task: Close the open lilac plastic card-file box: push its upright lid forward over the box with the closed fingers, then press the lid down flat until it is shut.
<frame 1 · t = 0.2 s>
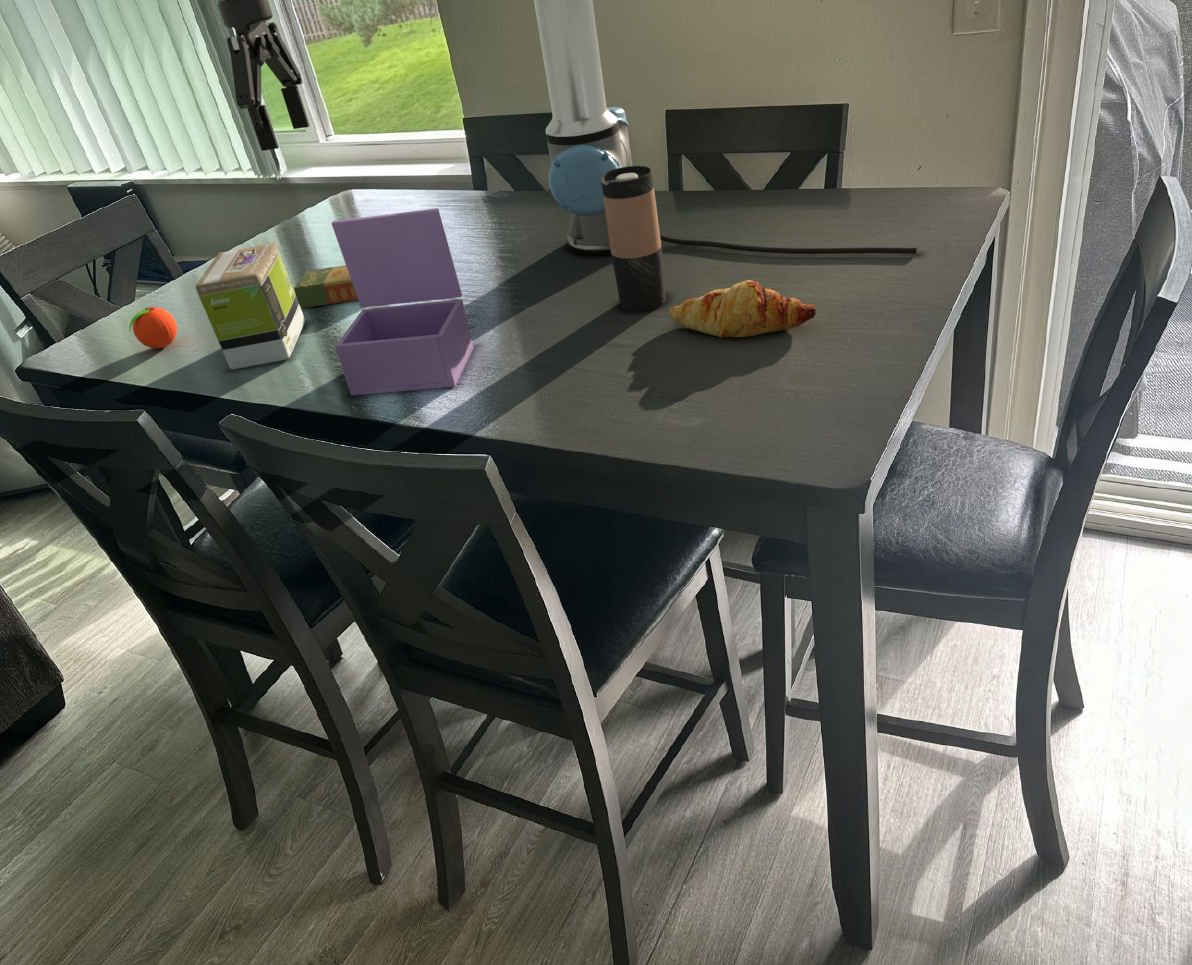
hand: (286, 138, 154), 28 cm above the table, tool pointing down, fingers open, 13 cm apart
file box: (414, 370, 137), on the table
clementine: (161, 348, 161), on the table
carton: (348, 294, 169), on the table
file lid: (398, 259, 134), point 15 cm above the table, hinge at 85.0°
tea box: (269, 347, 154), on the table
croissant: (741, 326, 134), on the table
travel mug: (643, 303, 146), on the table
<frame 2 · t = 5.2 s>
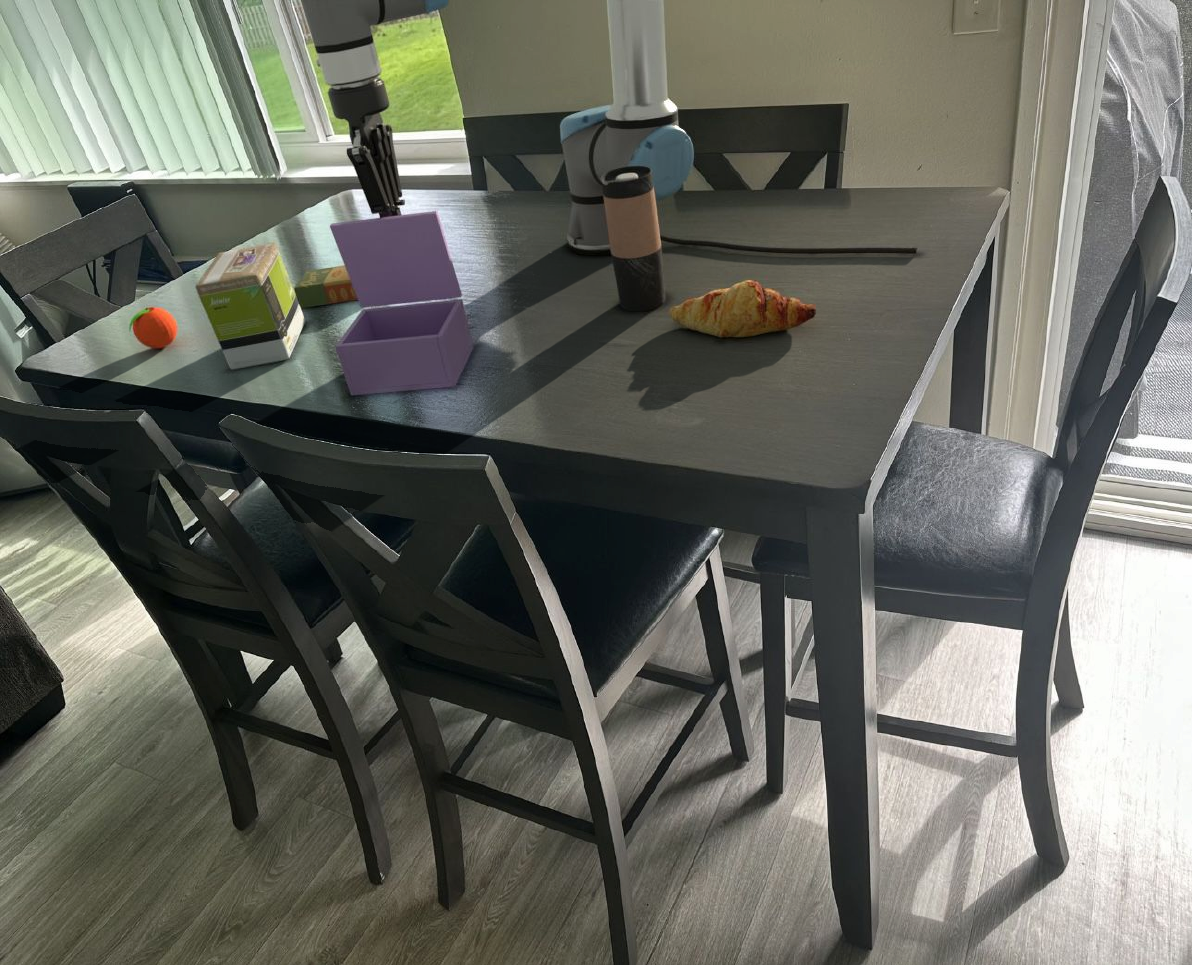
hand: (400, 253, 136), 15 cm above the table, tool pointing down, fingers closed
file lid: (397, 261, 134), point 15 cm above the table, hinge at 81.3°, touching gripper
everything else where it was.
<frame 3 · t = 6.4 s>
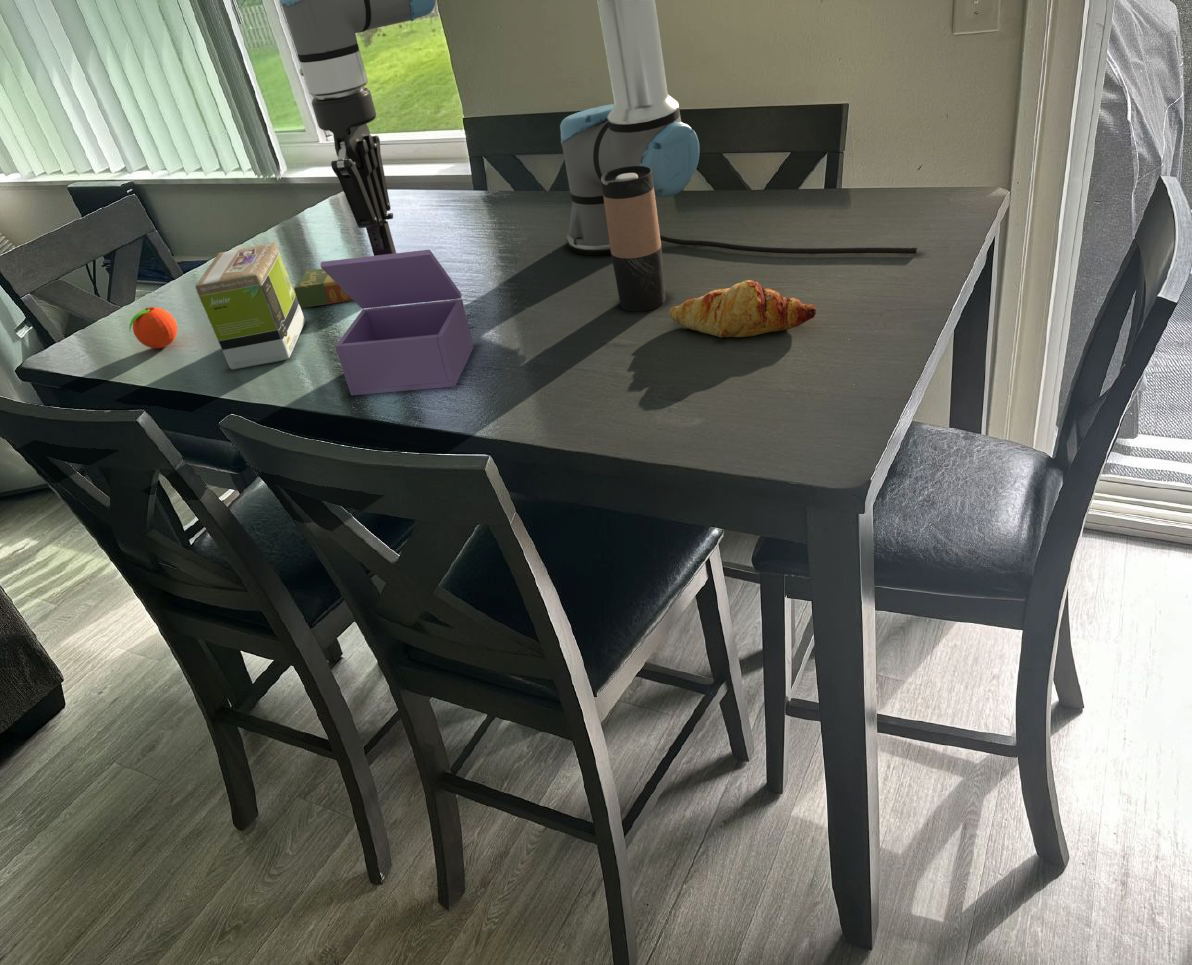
hand: (389, 268, 131), 15 cm above the table, tool pointing down, fingers closed
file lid: (393, 280, 132), point 13 cm above the table, hinge at 48.7°, touching gripper
everything else where it was.
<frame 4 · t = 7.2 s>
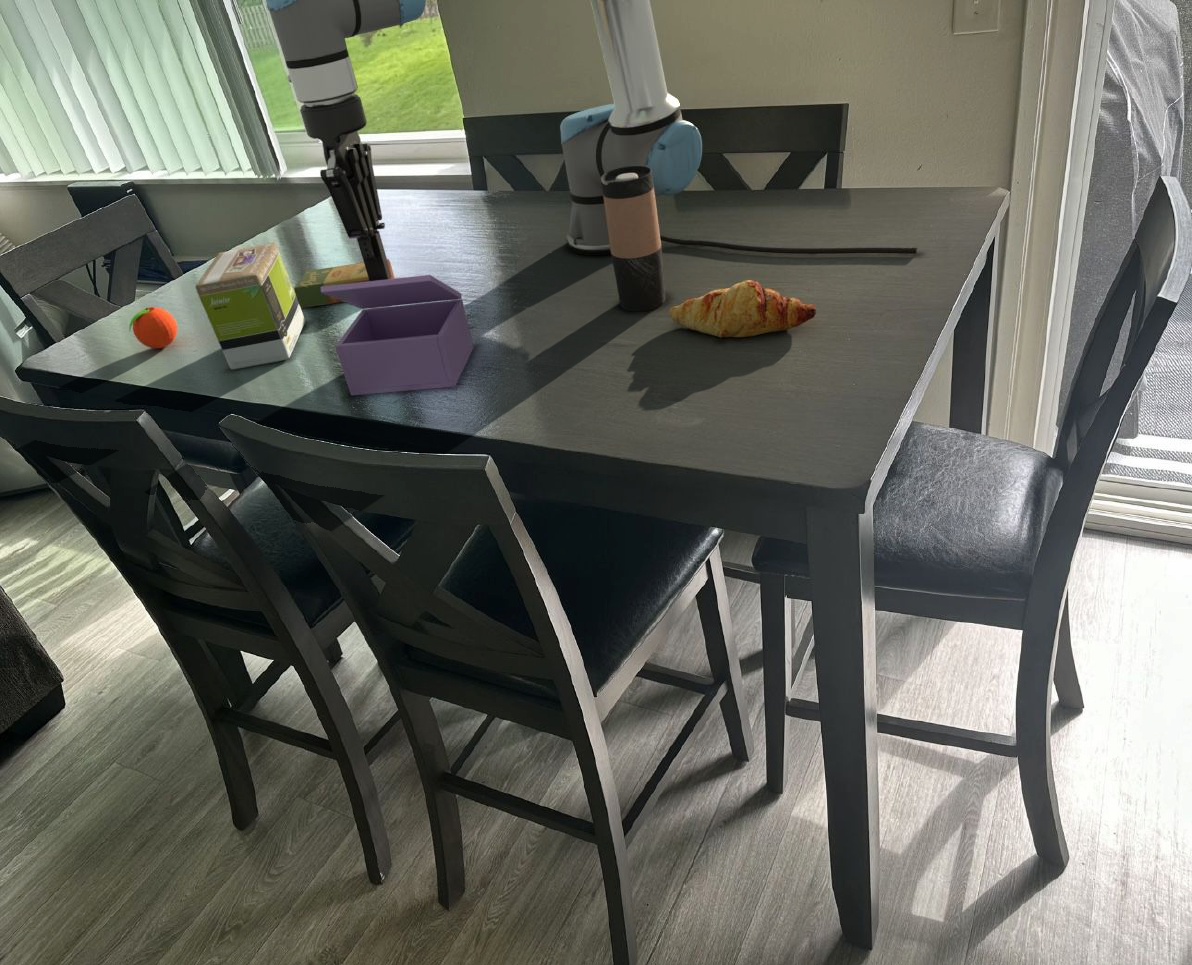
hand: (380, 279, 127), 15 cm above the table, tool pointing down, fingers closed
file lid: (393, 292, 131), point 12 cm above the table, hinge at 33.5°, touching gripper
everything else where it was.
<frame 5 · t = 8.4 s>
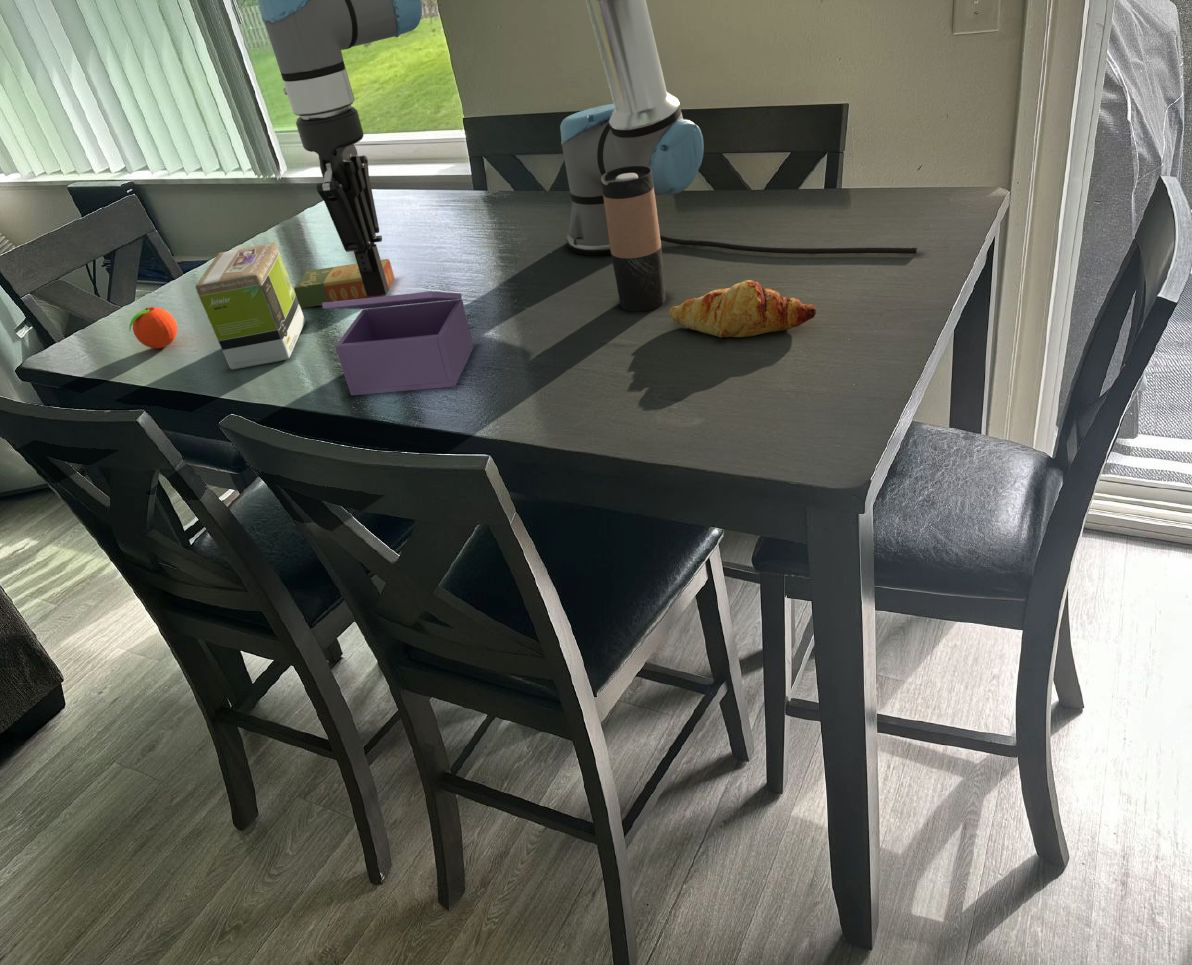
hand: (378, 293, 126), 14 cm above the table, tool pointing down, fingers closed
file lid: (394, 300, 132), point 11 cm above the table, hinge at 24.1°, touching gripper
everything else where it was.
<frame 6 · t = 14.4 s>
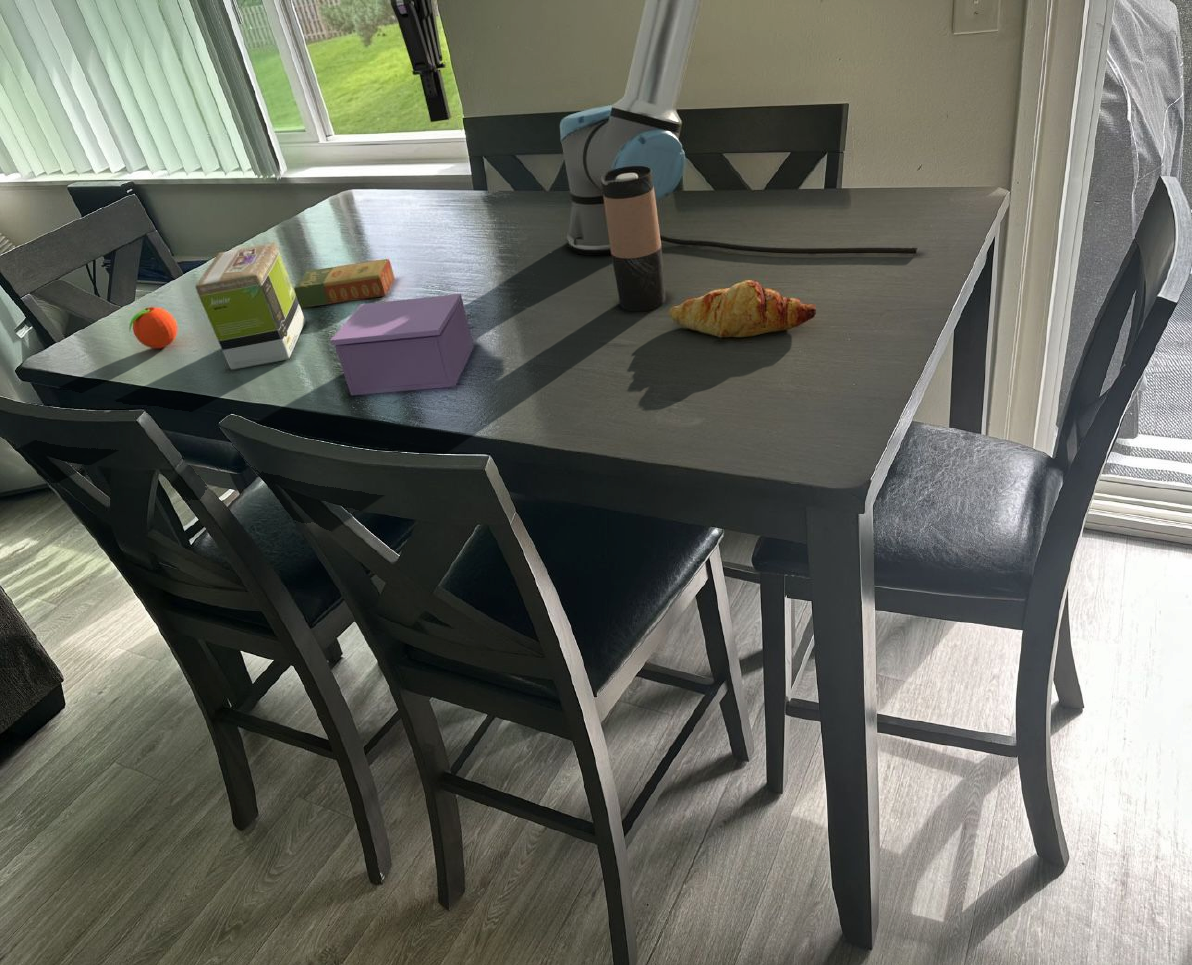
hand: (440, 119, 135), 30 cm above the table, tool pointing down, fingers closed
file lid: (398, 318, 132), point 8 cm above the table, hinge at 2.1°
everything else where it was.
at the end: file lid at +2° (first picture: +85°) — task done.
